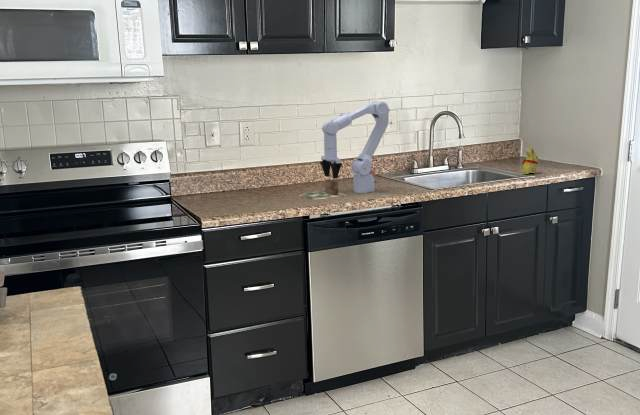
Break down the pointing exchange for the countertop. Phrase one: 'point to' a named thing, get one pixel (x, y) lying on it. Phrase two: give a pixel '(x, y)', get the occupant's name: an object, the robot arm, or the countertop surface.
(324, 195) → the board
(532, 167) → the chocolate bunny
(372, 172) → the cupcake
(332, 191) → the walnut block
